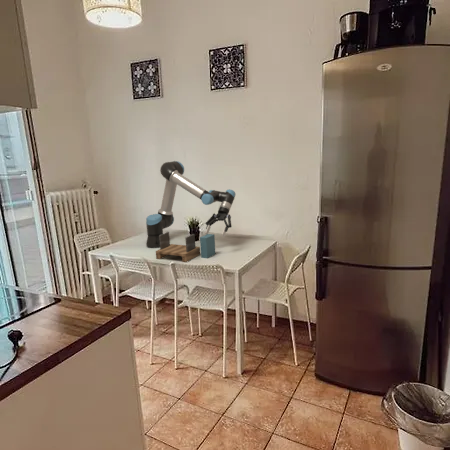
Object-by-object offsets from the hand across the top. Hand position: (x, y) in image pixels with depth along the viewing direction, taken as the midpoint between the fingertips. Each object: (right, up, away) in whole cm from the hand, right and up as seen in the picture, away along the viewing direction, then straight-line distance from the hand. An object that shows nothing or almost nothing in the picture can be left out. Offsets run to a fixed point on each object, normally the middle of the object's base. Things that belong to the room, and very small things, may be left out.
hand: (214, 234), depth 247 cm
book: (-4, -14, -3) cm, 15 cm away
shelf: (-25, -15, -1) cm, 29 cm away
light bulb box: (-55, -1, +67) cm, 86 cm away
